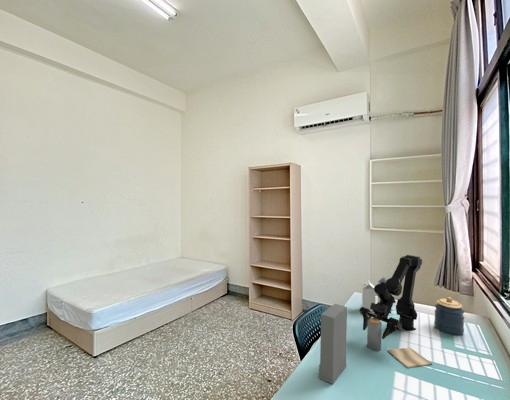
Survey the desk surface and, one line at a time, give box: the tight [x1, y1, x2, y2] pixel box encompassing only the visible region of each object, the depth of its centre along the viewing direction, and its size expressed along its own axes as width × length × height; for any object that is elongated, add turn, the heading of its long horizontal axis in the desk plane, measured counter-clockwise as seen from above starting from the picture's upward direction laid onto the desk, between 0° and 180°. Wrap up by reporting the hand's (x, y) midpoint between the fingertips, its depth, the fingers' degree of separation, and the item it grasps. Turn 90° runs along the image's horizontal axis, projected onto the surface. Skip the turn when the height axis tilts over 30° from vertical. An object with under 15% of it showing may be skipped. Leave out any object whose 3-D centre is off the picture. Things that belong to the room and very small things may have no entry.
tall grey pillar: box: [317, 303, 348, 385], centre depth 106 cm, size 14×6×25 cm, turn 141°
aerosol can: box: [377, 276, 388, 303], centre depth 169 cm, size 7×7×20 cm
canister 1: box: [366, 317, 383, 352], centre depth 124 cm, size 6×6×13 cm
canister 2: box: [433, 296, 465, 336], centre depth 142 cm, size 13×13×18 cm
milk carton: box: [361, 279, 377, 313], centre depth 164 cm, size 7×7×19 cm
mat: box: [387, 347, 433, 369], centre depth 116 cm, size 12×12×1 cm
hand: (372, 334), depth 123 cm, fingers open, 9 cm apart
